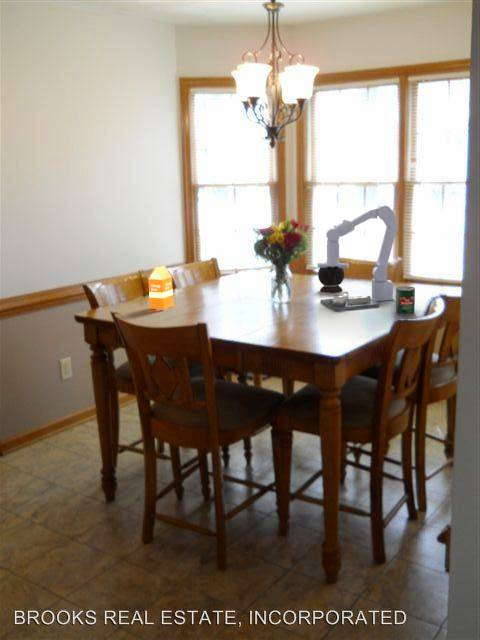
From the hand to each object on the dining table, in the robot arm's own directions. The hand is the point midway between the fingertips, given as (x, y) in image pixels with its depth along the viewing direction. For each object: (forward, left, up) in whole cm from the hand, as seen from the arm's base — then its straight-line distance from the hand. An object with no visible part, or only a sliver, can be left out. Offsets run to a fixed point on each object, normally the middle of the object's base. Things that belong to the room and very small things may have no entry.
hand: (333, 282), depth 326 cm
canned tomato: (-18, +37, -9) cm, 42 cm away
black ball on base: (-7, -22, -9) cm, 25 cm away
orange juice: (+80, -16, -9) cm, 82 cm away
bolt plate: (-3, +13, -8) cm, 16 cm away
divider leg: (-2, +10, -7) cm, 12 cm away
